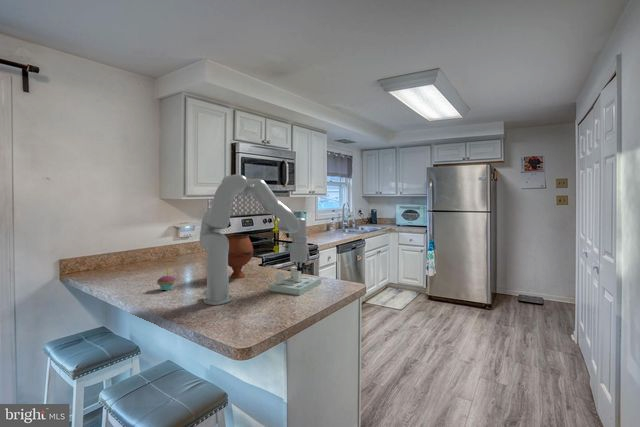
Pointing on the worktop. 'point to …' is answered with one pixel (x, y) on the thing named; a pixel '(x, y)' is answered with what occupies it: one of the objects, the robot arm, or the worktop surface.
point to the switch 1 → (279, 278)
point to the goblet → (239, 253)
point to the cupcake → (166, 281)
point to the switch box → (295, 285)
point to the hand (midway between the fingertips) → (300, 274)
